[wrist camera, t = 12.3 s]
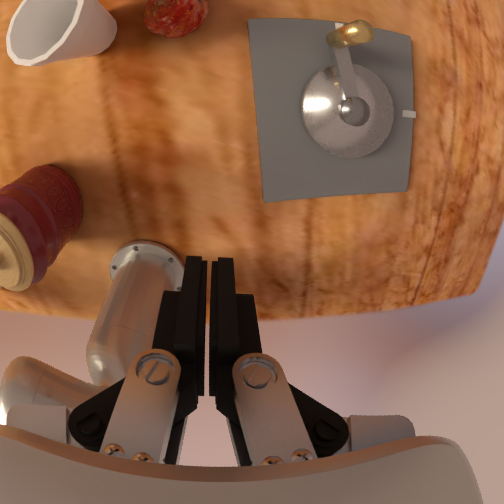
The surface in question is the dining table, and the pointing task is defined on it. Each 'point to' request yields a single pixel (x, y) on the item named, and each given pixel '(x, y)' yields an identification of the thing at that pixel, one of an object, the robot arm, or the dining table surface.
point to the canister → (36, 224)
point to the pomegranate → (175, 16)
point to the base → (289, 121)
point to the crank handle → (346, 99)
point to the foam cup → (58, 31)
